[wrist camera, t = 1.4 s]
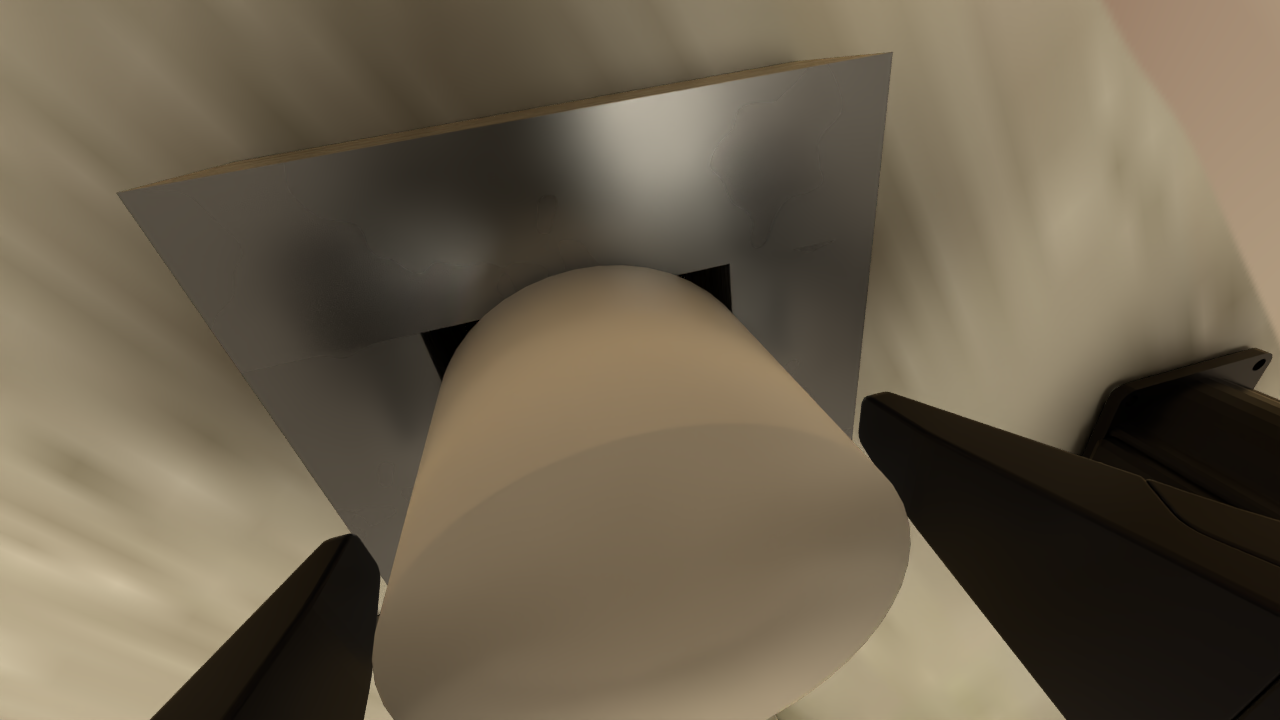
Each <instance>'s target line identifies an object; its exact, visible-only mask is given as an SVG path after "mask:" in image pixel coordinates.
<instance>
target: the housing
mask: <svg viewBox="0 0 1280 720" xmlns="http://www.w3.org/2000/svg"><path fill="white" fill-rule="evenodd" d="M892 54H893V52H888V53H877V54H866V55H856V56H845V57H835V58H824V59H813V60H803V61H794V62H789V63H783V64H778V65H772V66H767V67H761V68H755V69H750V70H744V71H739V72H733V73H727V74H722V75H716V76H711V77H705V78H700V79H694V80H688V81H683V82H677V83H672V84H666V85H661V86H655V87H649V88H644V89H638V90H633V91H627V92H622V93H616V94H610V95H605V96H599V97H594V98H588V99H582V100H577V101H571V102H566V103H560V104H555V105H549V106H543V107H538V108H532V109H527V110H521V111H516V112H510V113H504V114H499V115H493V116H488V117H482V118H477V119H471V120H465V121H460V122H454V123H449V124H443V125H437V126H432V127H426V128H421V129H415V130H410V131H404V132H398V133H393V134H387V135H382V136H376V137H371V138H365V139H359V140H354V141H348V142H343V143H337V144H332V145H326V146H320V147H315V148H309V149H304V150H298V151H292V152H287V153H281V154H276V155H270V156H265V157H259V158H253V159H248V160H242V161H237V162H232V163H228V164H224V165H221V166H217V167H213V168H209V169H205V170H201V171H198V172H194V173H190V174H186V175H182V176H179V177H175V178H171V179H167V180H163V181H159V182H156V183H152V184H148V185H144V186H140V187H137V188H133V189H129V190H125V191H121V192H118V193H117V195H118V196H119V198H120V199H121V200H122V202H123V203H124V205H125V206H126V208H127V209H128V211H129V212H130V213H131V215H132V216H133V218H134V219H135V221H136V222H137V224H138V225H139V226H140V228H141V229H142V231H143V232H144V234H145V235H146V237H147V238H148V240H149V241H150V242H151V244H152V245H153V247H154V248H155V250H156V251H157V253H158V254H159V255H160V257H161V258H162V260H163V261H164V263H165V264H166V266H167V267H168V268H169V270H170V271H171V273H172V274H173V276H174V277H175V279H176V280H177V281H178V283H179V284H180V286H181V287H182V289H183V290H184V292H185V293H186V294H187V296H188V297H189V299H190V300H191V302H192V303H193V305H194V306H195V308H196V309H197V310H198V312H199V313H200V315H201V316H202V318H203V319H204V321H205V322H206V323H207V325H208V326H209V328H210V329H211V331H212V332H213V334H214V335H215V336H216V338H217V339H218V341H219V342H220V344H221V345H222V347H223V348H224V349H225V351H226V352H227V354H228V355H229V357H230V358H231V360H232V361H233V362H234V364H235V365H236V367H237V368H238V370H239V371H240V373H241V374H242V375H243V377H244V378H245V380H246V381H247V383H248V384H249V386H250V387H251V389H252V390H253V391H254V393H255V394H256V396H257V397H258V399H259V400H260V402H261V403H262V404H263V406H264V407H265V409H266V410H267V412H268V413H269V415H270V416H271V417H272V419H273V420H274V422H275V423H276V425H277V426H278V428H279V429H280V430H281V432H282V433H283V435H284V436H285V438H286V439H287V441H288V442H289V443H290V445H291V446H292V448H293V449H294V451H295V452H296V454H297V455H298V456H299V458H300V459H301V461H302V462H303V464H304V465H305V467H306V468H307V470H308V471H309V472H310V474H311V475H312V477H313V478H314V480H315V481H316V483H317V484H318V485H319V487H320V488H321V490H322V491H323V493H324V494H325V496H326V497H327V498H328V500H329V501H330V503H331V504H332V506H333V507H334V509H335V510H336V511H337V513H338V514H339V516H340V517H341V519H342V520H343V522H344V523H345V524H346V526H347V527H348V529H349V530H350V532H351V533H352V534H355V535H357V536H358V537H359V538H360V539H361V541H362V542H363V544H364V545H365V547H366V548H367V549H368V551H369V552H370V554H371V555H372V557H373V558H374V560H375V561H376V563H377V565H378V567H379V571H380V575H381V577H382V578H383V579H384V581H385V582H386V584H387V585H388V582H389V578H390V575H391V571H392V567H393V563H394V559H395V556H396V552H397V548H398V544H399V541H400V537H401V533H402V529H403V526H404V522H405V518H406V514H407V510H408V507H409V503H410V499H411V495H412V492H413V488H414V484H415V480H416V476H417V473H418V469H419V465H420V461H421V458H422V454H423V450H424V446H425V442H426V439H427V435H428V431H429V427H430V424H431V420H432V416H433V412H434V409H435V405H436V401H437V397H438V393H439V390H440V386H441V383H442V380H443V377H444V374H445V371H446V368H447V366H448V364H449V362H450V360H451V358H452V356H453V354H454V352H455V350H456V349H457V347H458V346H459V345H460V343H461V342H462V340H463V339H464V338H465V336H466V335H467V332H466V329H465V326H464V324H463V323H467V322H472V321H476V320H480V319H481V318H482V317H483V316H484V315H485V314H486V313H488V312H489V311H490V310H492V309H493V308H494V307H495V306H497V305H498V304H499V303H501V302H502V301H503V300H504V299H506V298H508V297H509V296H511V295H513V294H514V293H516V292H518V291H519V290H521V289H523V288H525V287H526V286H529V285H531V284H533V283H536V282H538V281H540V280H543V279H545V278H547V277H550V276H553V275H557V274H560V273H564V272H567V271H571V270H574V269H581V268H587V267H594V266H609V265H627V266H636V267H646V268H651V269H655V270H659V271H663V272H667V273H671V274H673V275H681V274H685V273H687V280H688V281H691V282H692V283H694V284H696V285H697V286H699V287H701V288H703V289H704V290H706V291H708V292H709V293H710V294H712V295H713V296H714V297H715V298H717V299H718V300H719V301H720V302H722V303H723V304H724V305H725V306H726V307H727V308H728V309H729V310H730V311H731V313H732V314H733V315H734V316H735V317H736V318H737V319H738V320H739V321H740V322H741V323H742V324H743V325H744V326H745V327H746V328H747V330H748V331H749V332H750V333H751V334H752V335H753V336H754V337H755V338H756V339H757V340H758V341H759V342H760V343H761V344H762V346H763V347H764V348H765V349H766V350H767V351H768V352H769V353H770V354H771V355H772V356H773V357H774V358H775V359H776V360H777V361H778V363H779V364H780V365H781V366H782V367H783V368H784V369H785V370H786V371H787V372H788V373H789V374H790V375H791V376H792V377H793V378H794V380H795V381H796V382H797V383H798V384H799V385H800V386H801V387H802V388H803V389H804V390H805V391H806V392H807V393H808V394H809V396H810V397H811V398H812V399H813V400H814V401H815V402H816V403H817V404H818V405H819V406H820V407H821V408H822V409H823V410H824V411H825V413H826V414H827V415H828V416H829V417H830V418H831V419H832V420H833V421H834V422H835V423H836V424H837V425H838V426H839V427H840V428H841V430H842V431H843V432H844V433H845V434H846V435H847V436H848V437H849V438H850V439H851V440H852V434H853V424H854V415H855V405H856V396H857V386H858V377H859V367H860V358H861V348H862V339H863V329H864V320H865V310H866V301H867V291H868V282H869V272H870V263H871V253H872V244H873V234H874V225H875V215H876V206H877V196H878V187H879V177H880V168H881V158H882V149H883V139H884V130H885V120H886V111H887V101H888V92H889V82H890V73H891V63H892Z"/></svg>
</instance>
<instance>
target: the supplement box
mask: <svg viewBox="0 0 1280 720" xmlns="http://www.w3.org/2000/svg"><path fill="white" fill-rule="evenodd" d="M767 720H778V718H777V717H776V715H773V716H772V717H770V718H768V719H767Z"/></svg>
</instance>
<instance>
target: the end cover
mask: <svg viewBox="0 0 1280 720" xmlns="http://www.w3.org/2000/svg"><path fill="white" fill-rule="evenodd" d="M910 545H911V544H910V528H909V521H908V518H907V514H906V511H905V507H904V504H903V502H902V500H901V499H900V497H899V495H898V493H897V491H896V490H895V488H894V486H893V484H892V483H891V482H890V481H889V480H888V479H887V478H886V477H885V476H884V475H883V473H882V472H881V471H880V470H879V469H878V468H877V467H876V466H875V465H874V464H873V463H872V461H871V460H870V459H869V458H868V457H867V456H866V455H865V454H864V453H863V452H862V451H861V450H860V449H859V448H858V447H857V446H856V444H855V443H854V442H853V441H852V440H851V439H850V438H849V437H848V436H847V435H846V434H845V433H844V432H843V431H842V430H841V428H840V427H839V426H838V425H837V424H836V423H835V422H834V421H833V420H832V419H831V418H830V417H829V416H828V415H827V414H826V413H825V411H824V410H823V409H822V408H821V407H820V406H819V405H818V404H817V403H816V402H815V401H814V400H813V399H812V398H811V397H810V396H809V394H808V393H807V392H806V391H805V390H804V389H803V388H802V387H801V386H800V385H799V384H798V383H797V382H796V381H795V380H794V378H793V377H792V376H791V375H790V374H789V373H788V372H787V371H786V370H785V369H784V368H783V367H782V366H781V365H780V364H779V363H778V361H777V360H776V359H775V358H774V357H773V356H772V355H771V354H770V353H769V352H768V351H767V350H766V349H765V348H764V347H763V346H762V344H761V343H760V342H759V341H758V340H757V339H756V338H755V337H754V336H753V335H752V334H751V333H750V332H749V331H748V330H747V328H746V327H745V326H744V325H743V324H742V323H741V322H740V321H739V320H738V319H737V318H736V317H735V316H734V315H733V314H732V313H731V311H730V310H729V309H728V308H727V307H726V306H725V305H724V304H723V303H722V302H720V301H719V300H718V299H717V298H715V297H714V296H713V295H712V294H710V293H709V292H708V291H706V290H704V289H703V288H701V287H699V286H697V285H696V284H694V283H692V282H691V281H688V280H686V279H683V278H681V277H678V276H676V275H673V274H671V273H667V272H663V271H659V270H655V269H651V268H646V267H636V266H627V265H609V266H594V267H587V268H581V269H574V270H571V271H567V272H564V273H560V274H557V275H553V276H550V277H547V278H545V279H543V280H540V281H538V282H536V283H533V284H531V285H529V286H526V287H525V288H523V289H521V290H519V291H518V292H516V293H514V294H513V295H511V296H509V297H508V298H506V299H504V300H503V301H502V302H501V303H499V304H498V305H497V306H495V307H494V308H493V309H492V310H490V311H489V312H488V313H486V314H485V315H484V316H483V317H482V318H481V319H480V320H479V322H478V323H477V324H476V325H475V326H474V327H473V328H472V329H471V330H470V331H469V332H468V333H467V335H466V336H465V338H464V339H463V340H462V342H461V343H460V345H459V346H458V347H457V349H456V350H455V352H454V354H453V356H452V358H451V360H450V362H449V364H448V366H447V368H446V371H445V374H444V377H443V380H442V383H441V386H440V390H439V393H438V397H437V401H436V405H435V409H434V412H433V416H432V420H431V424H430V427H429V431H428V435H427V439H426V442H425V446H424V450H423V454H422V458H421V461H420V465H419V469H418V473H417V476H416V480H415V484H414V488H413V492H412V495H411V499H410V503H409V507H408V510H407V514H406V518H405V522H404V526H403V529H402V533H401V537H400V541H399V544H398V548H397V552H396V556H395V559H394V563H393V567H392V571H391V575H390V578H389V582H388V586H387V590H386V593H385V597H384V601H383V605H382V609H381V612H380V616H379V620H378V624H377V627H376V631H375V636H374V645H373V654H372V665H373V673H374V680H375V685H376V688H377V690H378V693H379V695H380V698H381V700H382V702H383V705H384V706H385V708H386V709H387V711H388V712H389V713H390V715H391V716H392V718H393V719H394V720H767V719H768V718H770V717H772V716H773V715H775V714H777V713H779V712H780V711H782V710H784V709H785V708H787V707H789V706H790V705H792V704H793V703H795V702H796V701H798V700H799V699H801V698H802V697H804V696H805V695H807V694H808V693H810V692H811V691H812V690H814V689H815V688H816V687H818V686H819V685H820V684H822V683H823V682H824V681H825V680H827V679H828V678H829V677H831V676H832V675H833V674H834V673H835V672H836V671H837V670H838V669H840V668H841V667H842V666H843V665H844V664H845V663H846V662H847V661H848V660H849V659H850V658H851V657H852V656H853V655H854V654H855V653H856V652H857V651H858V650H859V649H860V648H861V647H862V646H863V645H864V644H865V643H866V641H867V640H868V639H869V638H870V636H871V635H872V634H873V633H874V631H875V630H876V629H877V627H878V626H879V625H880V623H881V622H882V620H883V619H884V617H885V616H886V614H887V612H888V611H889V609H890V608H891V606H892V604H893V602H894V600H895V598H896V596H897V594H898V592H899V590H900V588H901V585H902V582H903V579H904V576H905V573H906V569H907V566H908V560H909V552H910Z"/></svg>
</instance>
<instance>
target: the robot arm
mask: <svg viewBox="0 0 1280 720" xmlns="http://www.w3.org/2000/svg"><path fill="white" fill-rule="evenodd" d="M1271 359H1272V354H1271V353H1269V352H1266V351H1263V350H1260V349H1257V348H1251V349H1248V350H1244V351H1240V352H1237V353H1233V354H1230V355H1226V356H1223V357H1219V358H1215V359H1212V360H1208V361H1205V362H1201V363H1197V364H1194V365H1190V366H1187V367H1183V368H1180V369H1176V370H1172V371H1169V372H1165V373H1162V374H1158V375H1155V376H1151V377H1147V378H1144V379H1140V380H1137V381H1133V382H1130V383H1126V384H1123V385H1121V386H1119V387H1118V388H1116V389H1115V390H1114V391H1113V392H1112V393H1111V394H1110V396H1109V397H1108V399H1107V401H1106V404H1105V406H1104V408H1103V410H1102V413H1101V415H1100V417H1099V419H1098V422H1097V424H1096V426H1095V428H1094V431H1093V433H1092V435H1091V438H1090V440H1089V442H1088V444H1087V447H1086V449H1085V451H1084V453H1083V456H1079V455H1076V454H1073V453H1070V452H1067V451H1064V450H1061V449H1058V448H1055V447H1052V446H1049V445H1046V444H1043V443H1040V442H1037V441H1034V440H1031V439H1028V438H1025V437H1022V436H1019V435H1016V434H1013V433H1010V432H1007V431H1004V430H1001V429H998V428H995V427H992V426H989V425H986V424H983V423H980V422H977V421H974V420H971V419H968V418H965V417H962V416H959V415H956V414H953V413H950V412H948V411H945V410H942V409H939V408H936V407H933V406H930V405H927V404H924V403H921V402H918V401H915V400H912V399H909V398H906V397H903V396H900V395H897V394H894V393H891V392H881V393H877V394H873V395H869V396H867V397H865V398H864V399H863V401H862V404H861V413H860V422H859V439H860V442H861V444H862V446H863V447H864V449H865V451H866V452H867V454H868V455H869V457H870V459H871V460H872V462H873V463H874V465H875V466H876V467H877V468H878V469H879V470H880V471H881V472H882V473H883V475H884V476H885V477H886V478H887V479H888V480H889V481H890V482H891V483H892V484H893V486H894V488H895V490H896V491H897V493H898V495H899V497H900V499H901V500H902V502H903V504H904V507H905V511H906V514H907V516H908V518H909V519H910V520H911V522H912V523H913V524H914V526H915V527H916V528H917V530H918V531H919V532H920V534H921V535H922V536H923V537H924V539H925V540H926V541H927V543H928V544H929V545H930V546H931V548H932V549H933V550H934V551H935V553H936V554H937V555H938V557H939V558H940V559H941V560H942V562H943V563H944V564H945V566H946V567H947V568H948V569H949V571H950V572H951V573H952V574H953V576H954V577H955V578H956V580H957V581H958V582H959V583H960V585H961V586H962V587H963V589H964V590H965V591H966V592H967V594H968V595H969V596H970V597H971V599H972V600H973V601H974V603H975V604H976V605H977V606H978V608H979V609H980V610H981V612H982V613H983V614H984V615H985V617H986V618H987V619H988V620H989V622H990V623H991V624H992V626H993V627H994V628H995V629H996V631H997V632H998V633H999V634H1000V636H1001V637H1002V638H1003V640H1004V641H1005V642H1006V643H1007V645H1008V646H1009V647H1010V649H1011V650H1012V651H1013V652H1014V654H1015V655H1016V656H1017V657H1018V659H1019V660H1020V661H1021V663H1022V664H1023V665H1024V666H1025V668H1026V669H1027V670H1028V672H1029V673H1030V674H1031V675H1032V677H1033V678H1034V679H1035V680H1036V682H1037V683H1038V684H1039V686H1040V687H1041V688H1042V689H1043V691H1044V692H1045V693H1046V695H1047V696H1048V697H1049V698H1050V700H1051V701H1052V702H1053V703H1054V705H1055V706H1056V707H1057V709H1058V710H1059V711H1060V712H1061V714H1062V715H1063V716H1064V718H1065V719H1066V720H1280V400H1278V399H1276V398H1273V397H1271V396H1269V395H1266V394H1264V393H1261V392H1259V391H1256V390H1254V387H1255V385H1256V384H1257V382H1258V381H1259V379H1260V377H1261V376H1262V374H1263V373H1264V371H1265V369H1266V368H1267V366H1268V365H1269V363H1270V361H1271ZM379 589H380V571H379V567H378V565H377V563H376V561H375V560H374V558H373V557H372V555H371V554H370V552H369V551H368V549H367V548H366V547H365V545H364V544H363V542H362V541H361V539H360V538H359V537H358V536H357V535H355V534H346V535H342V536H338V537H334V538H331V539H328V540H326V541H324V542H323V543H322V544H321V545H320V546H319V547H318V548H317V549H316V550H315V551H314V552H313V553H312V554H311V555H310V556H309V557H308V558H307V559H306V560H305V561H304V562H303V563H302V564H301V565H300V566H299V567H298V568H297V569H296V570H295V571H294V572H293V573H292V575H291V576H290V577H289V578H288V579H287V580H286V581H285V582H284V583H283V584H282V585H281V586H280V587H279V588H278V589H277V590H276V591H275V592H274V593H273V594H272V595H271V596H270V597H269V598H268V599H267V600H266V601H265V602H264V603H263V604H262V605H261V606H260V607H259V608H258V609H257V610H256V611H255V612H254V613H253V615H252V616H251V617H250V618H249V619H248V620H247V621H246V622H245V623H244V624H243V625H242V626H241V627H240V628H239V629H238V630H237V631H236V632H235V633H234V634H233V635H232V636H231V637H230V638H229V639H228V640H227V641H226V642H225V643H224V644H223V645H222V646H221V647H220V648H219V649H218V650H217V651H216V652H215V654H214V655H213V656H212V657H211V658H210V659H209V660H208V661H207V662H206V663H205V664H204V665H203V666H202V667H201V668H200V669H199V670H198V671H197V672H196V673H195V674H194V675H193V676H192V677H191V678H190V679H189V680H188V681H187V682H186V683H185V684H184V685H183V686H182V687H181V688H180V689H179V690H178V691H177V692H176V693H175V695H174V696H173V697H172V698H171V699H170V700H169V701H168V702H167V703H166V704H165V705H164V706H163V707H162V708H161V709H160V710H159V711H158V712H157V713H156V714H155V715H154V716H153V717H152V718H151V719H150V720H364V715H365V710H366V705H367V700H368V695H369V689H370V683H371V677H372V668H373V665H372V654H373V645H374V636H375V631H376V624H377V613H378V601H379Z"/></svg>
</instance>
